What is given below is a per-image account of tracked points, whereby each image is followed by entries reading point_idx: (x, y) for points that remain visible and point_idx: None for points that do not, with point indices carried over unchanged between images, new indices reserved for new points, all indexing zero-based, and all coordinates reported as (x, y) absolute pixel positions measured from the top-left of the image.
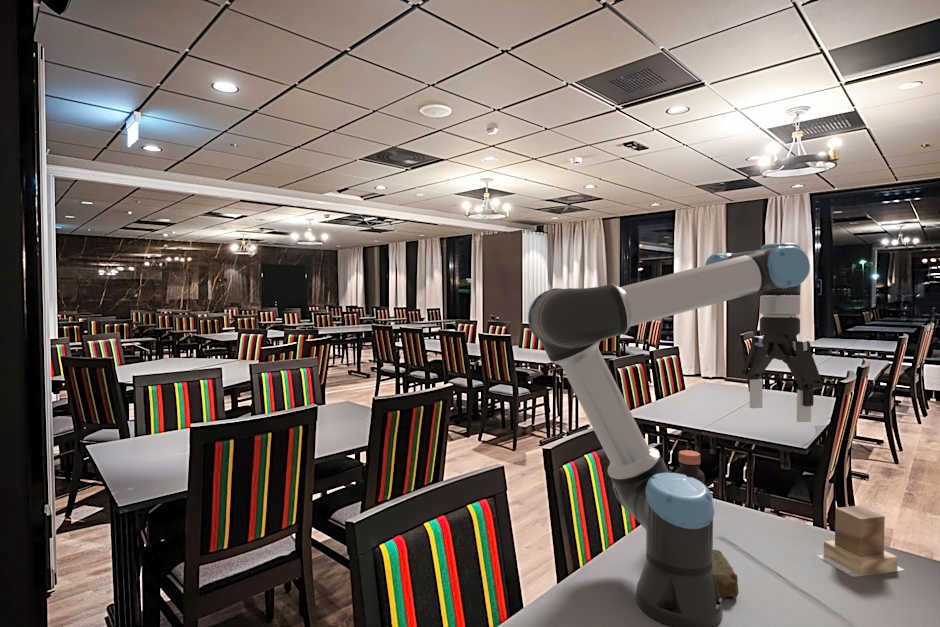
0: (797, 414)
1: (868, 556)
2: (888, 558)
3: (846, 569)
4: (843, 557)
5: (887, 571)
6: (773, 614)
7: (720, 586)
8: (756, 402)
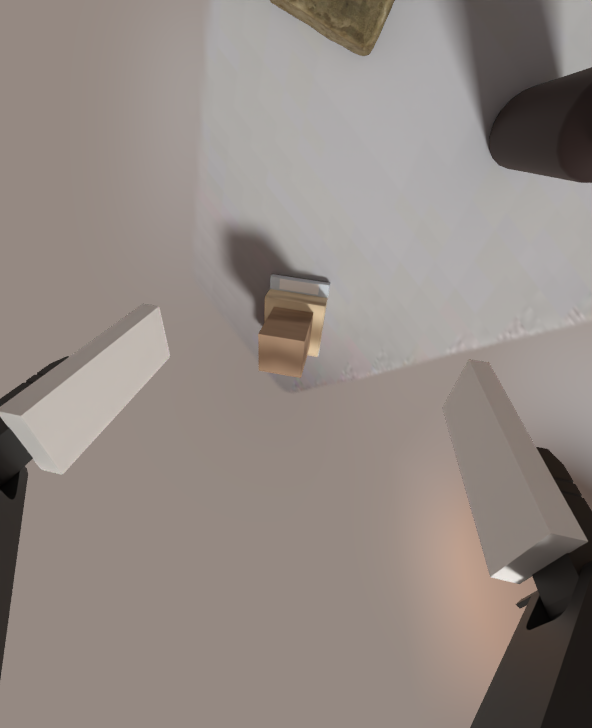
0: (134, 321)
1: None
2: None
3: (286, 286)
4: (293, 297)
5: None
6: (220, 44)
7: None
8: (464, 403)
